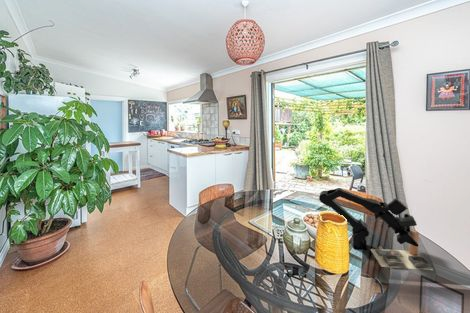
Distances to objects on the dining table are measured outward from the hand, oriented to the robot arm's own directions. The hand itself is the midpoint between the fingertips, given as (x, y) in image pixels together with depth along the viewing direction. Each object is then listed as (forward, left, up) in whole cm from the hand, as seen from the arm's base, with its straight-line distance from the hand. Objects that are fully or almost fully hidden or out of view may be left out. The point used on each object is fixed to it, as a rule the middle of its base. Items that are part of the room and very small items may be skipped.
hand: (417, 244), depth 105 cm
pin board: (-10, -4, -7) cm, 13 cm away
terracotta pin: (-1, 0, -6) cm, 6 cm away
